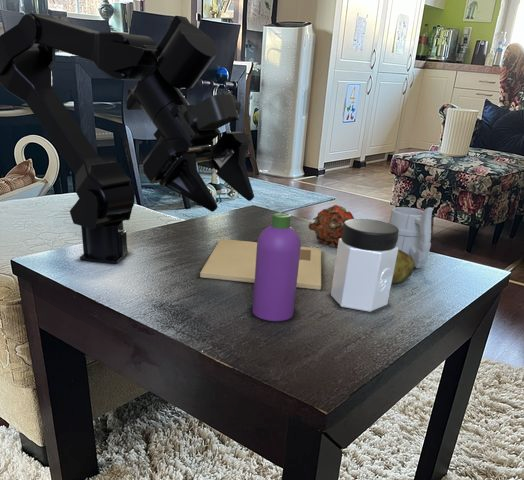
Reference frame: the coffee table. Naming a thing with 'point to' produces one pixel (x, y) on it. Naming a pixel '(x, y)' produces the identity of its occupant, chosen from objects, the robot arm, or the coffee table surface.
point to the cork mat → (244, 262)
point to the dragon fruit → (330, 224)
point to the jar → (365, 264)
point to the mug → (413, 232)
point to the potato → (402, 267)
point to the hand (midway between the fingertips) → (234, 204)
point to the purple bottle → (276, 270)
